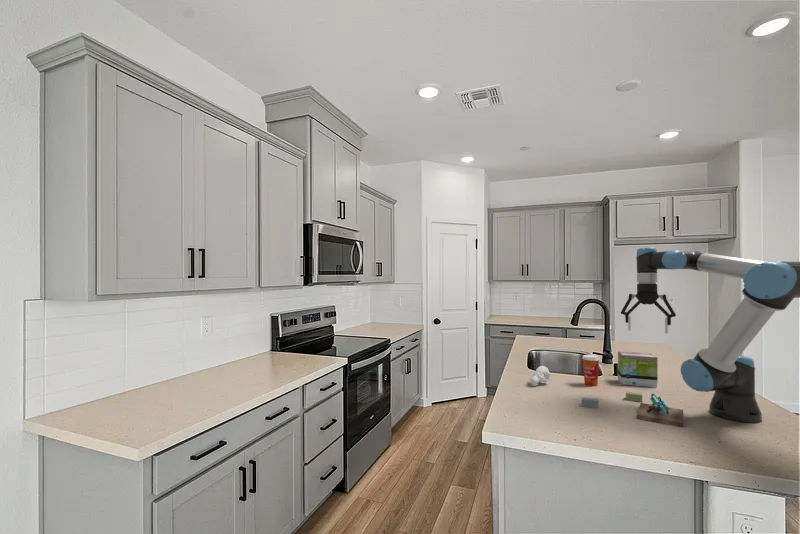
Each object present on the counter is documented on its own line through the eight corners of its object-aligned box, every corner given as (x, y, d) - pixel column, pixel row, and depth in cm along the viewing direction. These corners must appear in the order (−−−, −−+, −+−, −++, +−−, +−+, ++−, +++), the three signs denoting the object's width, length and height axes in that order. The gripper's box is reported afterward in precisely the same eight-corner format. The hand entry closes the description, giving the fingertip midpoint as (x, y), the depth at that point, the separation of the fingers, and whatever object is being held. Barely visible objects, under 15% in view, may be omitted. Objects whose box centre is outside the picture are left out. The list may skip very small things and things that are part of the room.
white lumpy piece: (550, 366, 191) (536, 372, 184) (552, 383, 191) (537, 390, 184) (539, 363, 196) (525, 369, 189) (540, 380, 196) (526, 387, 189)
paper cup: (578, 383, 191) (578, 355, 191) (589, 381, 194) (589, 353, 194) (592, 388, 184) (592, 358, 184) (603, 386, 187) (603, 356, 187)
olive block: (642, 400, 166) (642, 393, 166) (642, 402, 164) (642, 395, 164) (625, 398, 169) (625, 391, 169) (625, 400, 167) (625, 393, 167)
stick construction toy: (675, 411, 142) (659, 392, 145) (659, 421, 142) (643, 402, 145) (663, 410, 153) (648, 392, 156) (648, 419, 153) (633, 401, 156)
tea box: (622, 385, 188) (622, 354, 188) (617, 380, 198) (617, 350, 198) (658, 388, 184) (657, 356, 184) (651, 382, 193) (650, 352, 194)
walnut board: (683, 413, 150) (683, 409, 150) (683, 427, 137) (683, 422, 137) (640, 406, 158) (640, 402, 158) (637, 418, 145) (637, 414, 145)
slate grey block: (597, 406, 160) (597, 398, 160) (598, 408, 157) (598, 401, 157) (581, 404, 162) (581, 397, 162) (582, 406, 159) (582, 399, 159)
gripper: (682, 283, 166) (682, 332, 166) (615, 282, 180) (616, 328, 180) (682, 283, 160) (683, 335, 159) (613, 282, 174) (614, 330, 174)
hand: (647, 331), depth 170 cm, fingers open, 13 cm apart
